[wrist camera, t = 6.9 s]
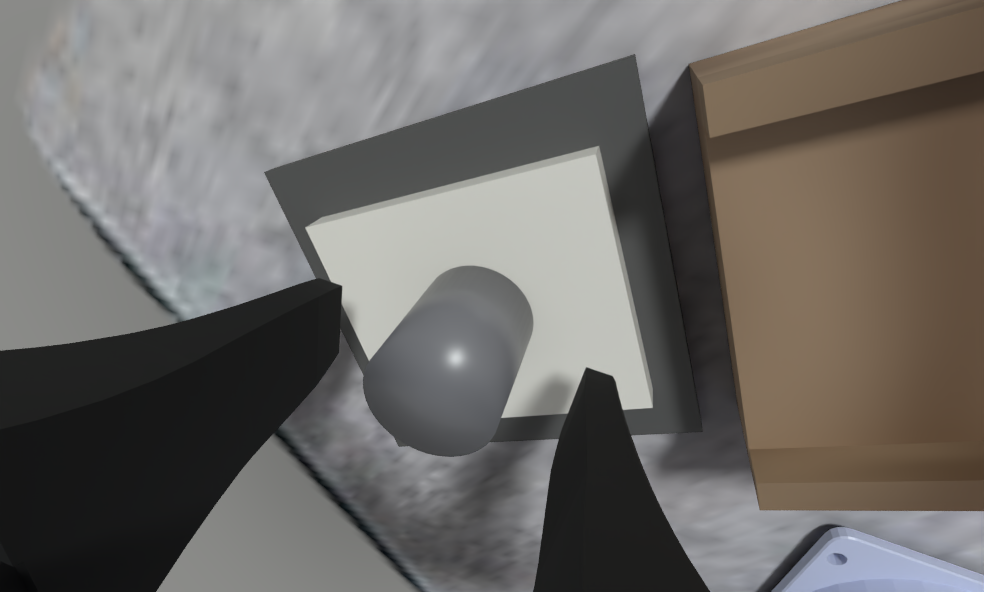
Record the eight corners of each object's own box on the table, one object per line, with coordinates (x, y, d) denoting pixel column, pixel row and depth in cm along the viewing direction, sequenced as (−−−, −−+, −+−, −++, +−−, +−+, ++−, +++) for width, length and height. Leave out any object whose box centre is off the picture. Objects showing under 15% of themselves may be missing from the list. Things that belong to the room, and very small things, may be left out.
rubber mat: (635, 54, 11) (634, 55, 10) (701, 422, 15) (702, 431, 14) (273, 168, 15) (264, 172, 14) (403, 438, 18) (398, 446, 18)
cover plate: (599, 145, 12) (574, 209, 8) (652, 388, 14) (653, 519, 11) (321, 217, 14) (210, 287, 11) (409, 408, 17) (343, 516, 13)
